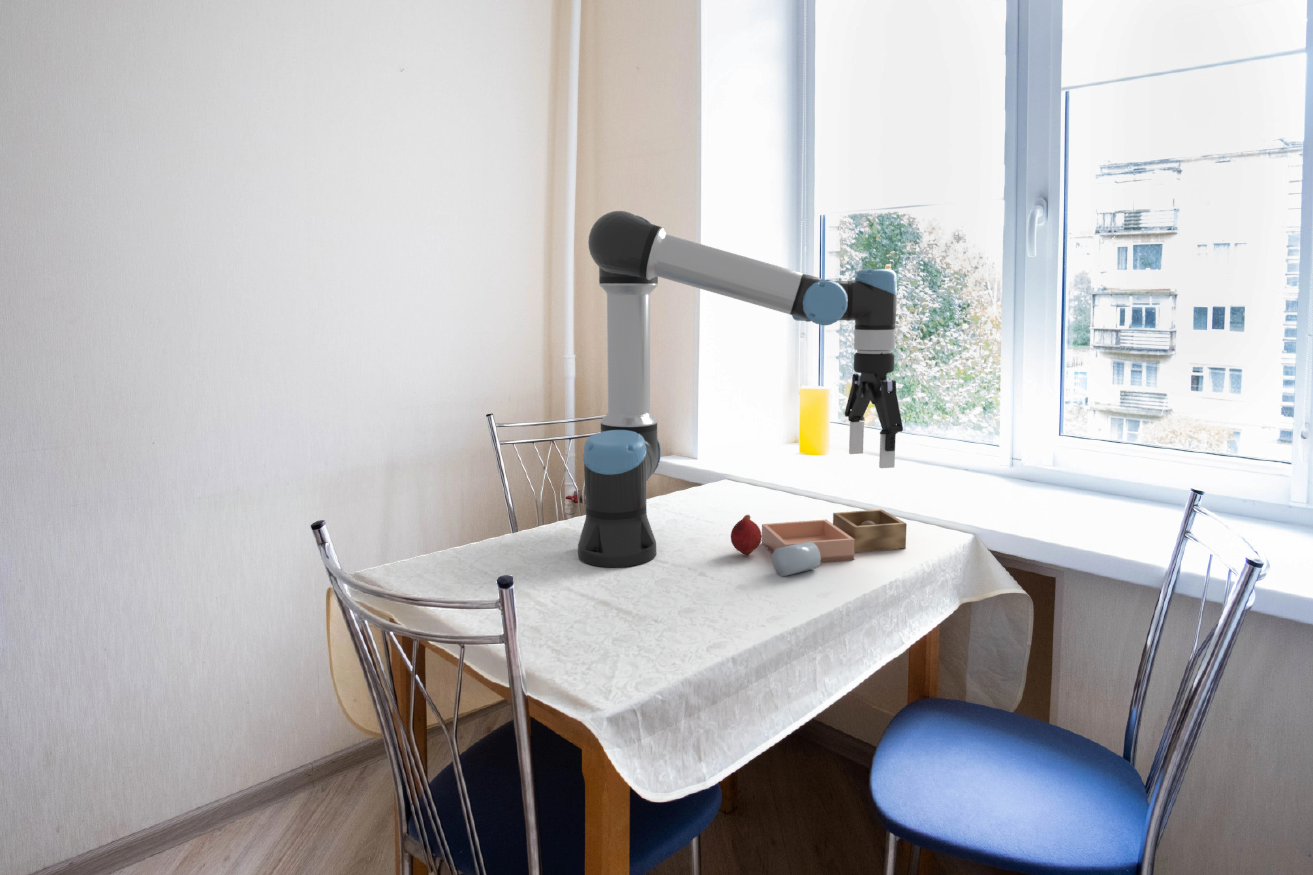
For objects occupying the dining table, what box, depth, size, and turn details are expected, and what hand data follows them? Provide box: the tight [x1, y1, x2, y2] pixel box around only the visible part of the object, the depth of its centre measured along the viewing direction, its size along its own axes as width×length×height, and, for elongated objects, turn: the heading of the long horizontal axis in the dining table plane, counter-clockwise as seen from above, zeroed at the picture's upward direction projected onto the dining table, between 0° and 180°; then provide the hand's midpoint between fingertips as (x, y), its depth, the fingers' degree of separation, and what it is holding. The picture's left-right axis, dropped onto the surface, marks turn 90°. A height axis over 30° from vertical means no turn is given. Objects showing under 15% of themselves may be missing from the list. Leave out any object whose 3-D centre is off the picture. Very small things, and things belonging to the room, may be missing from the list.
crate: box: [832, 508, 908, 553], centre depth 163 cm, size 11×11×5 cm
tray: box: [761, 519, 855, 564], centre depth 158 cm, size 14×14×4 cm
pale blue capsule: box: [771, 541, 821, 577], centre depth 147 cm, size 7×5×5 cm
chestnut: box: [860, 521, 876, 526], centre depth 163 cm, size 4×4×4 cm
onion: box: [730, 514, 762, 556], centre depth 156 cm, size 6×6×8 cm
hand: (870, 460), depth 160 cm, fingers open, 13 cm apart
